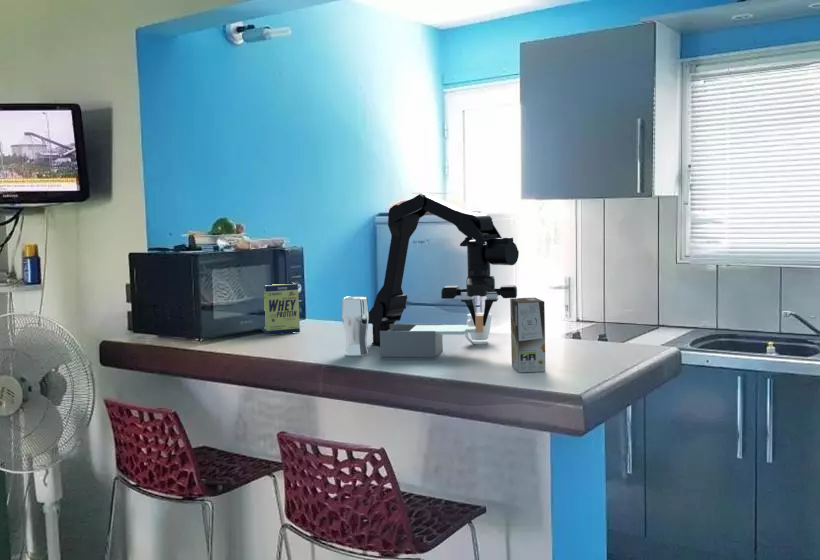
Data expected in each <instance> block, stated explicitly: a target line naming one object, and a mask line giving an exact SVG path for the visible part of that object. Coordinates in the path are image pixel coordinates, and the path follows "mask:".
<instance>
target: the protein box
mask: <svg viewBox="0 0 820 560" xmlns="http://www.w3.org/2000/svg"><path fill="white" fill-rule="evenodd" d="M292 283H293V284H272V285H265V286H264V311H265V327H264V332H265V333H266V335H267V334H268V335H267V336H270V335H269V334H278V335H282V334H281V333H290V334H294V333H293V332H301V327H300V326H301V325H300V303H299V302H300V301H299V299H300V298H299V284H298V283H295V282H292ZM264 332H263V333H264ZM265 333H264V334H265Z"/></svg>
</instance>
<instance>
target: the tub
mask: <svg viewBox="0 0 820 560" xmlns="http://www.w3.org/2000/svg"><path fill="white" fill-rule="evenodd" d="M416 325H443V323H396V324H390V329H389V330H388V331H380V345H379V346H380V347H379V349H380V360H383V361H385V360H386V361H396V360H397V361H399V360H400V361H406V360H407V361H411V360H412V361H436V360H437V359H438V358H439V356H440V355H441V354H442V353H443V351H444V348H443V347H444V345H443V335H435V331H410V330H411V329H412V328H413V327H415V326H416Z"/></svg>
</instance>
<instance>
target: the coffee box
mask: <svg viewBox="0 0 820 560" xmlns="http://www.w3.org/2000/svg"><path fill="white" fill-rule="evenodd" d="M509 302H510V303H509V305H510V307H509V309H510V311H509V312H510V339H511V340H510V342H511V343H510V346H511V347H510V348H511V366H512V367H513V368H514V369H515V370H516V372H518V373H539V372H541V373H544V372H546V322H545V321H546V320H545V319H546V316H545V314H546V312H545V311H546V310H545V301H544V300H542V299H539V298H536V297H518V298H517V297H516V298H509Z"/></svg>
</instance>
